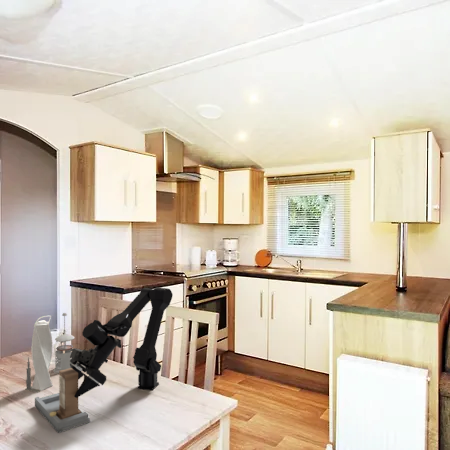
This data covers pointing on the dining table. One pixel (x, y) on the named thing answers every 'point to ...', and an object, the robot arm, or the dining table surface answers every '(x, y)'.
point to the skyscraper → (40, 356)
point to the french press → (62, 357)
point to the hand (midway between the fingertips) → (70, 392)
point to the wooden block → (68, 394)
